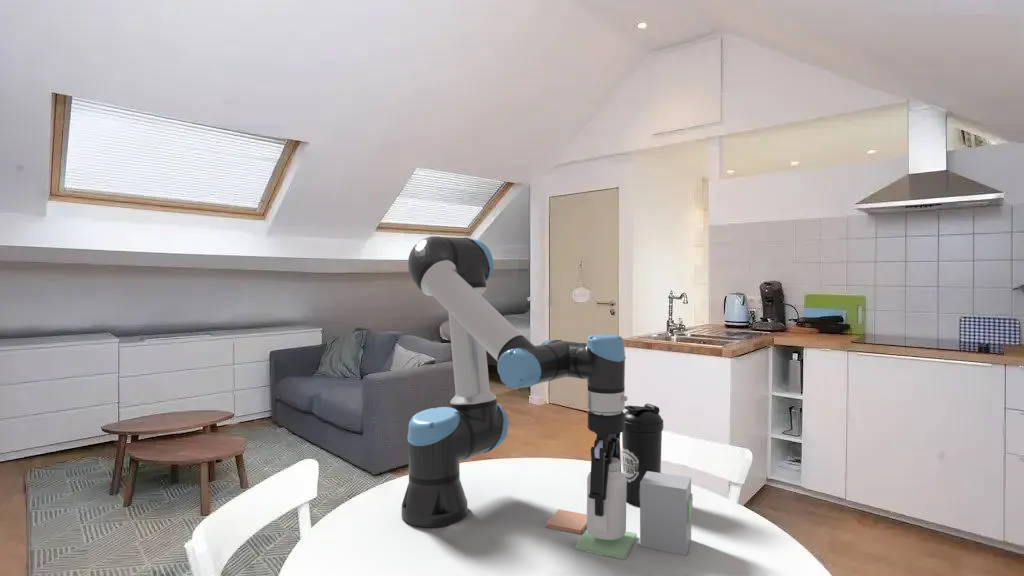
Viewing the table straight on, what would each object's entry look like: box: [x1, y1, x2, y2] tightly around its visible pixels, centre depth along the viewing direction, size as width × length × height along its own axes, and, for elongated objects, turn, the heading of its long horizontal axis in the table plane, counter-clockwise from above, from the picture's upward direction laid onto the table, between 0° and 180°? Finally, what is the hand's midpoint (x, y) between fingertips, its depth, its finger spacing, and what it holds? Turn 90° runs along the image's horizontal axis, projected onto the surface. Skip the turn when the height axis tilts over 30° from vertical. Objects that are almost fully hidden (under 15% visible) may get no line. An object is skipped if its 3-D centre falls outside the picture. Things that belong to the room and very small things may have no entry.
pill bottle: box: [586, 457, 627, 540], centre depth 113 cm, size 8×8×15 cm
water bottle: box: [621, 403, 664, 508], centre depth 134 cm, size 10×10×23 cm
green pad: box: [575, 529, 638, 560], centre depth 113 cm, size 10×10×1 cm
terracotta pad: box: [545, 509, 587, 535], centre depth 122 cm, size 8×8×1 cm
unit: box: [639, 471, 694, 556], centre depth 113 cm, size 10×7×13 cm
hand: (606, 521), depth 113 cm, fingers closed on pill bottle, 8 cm apart
